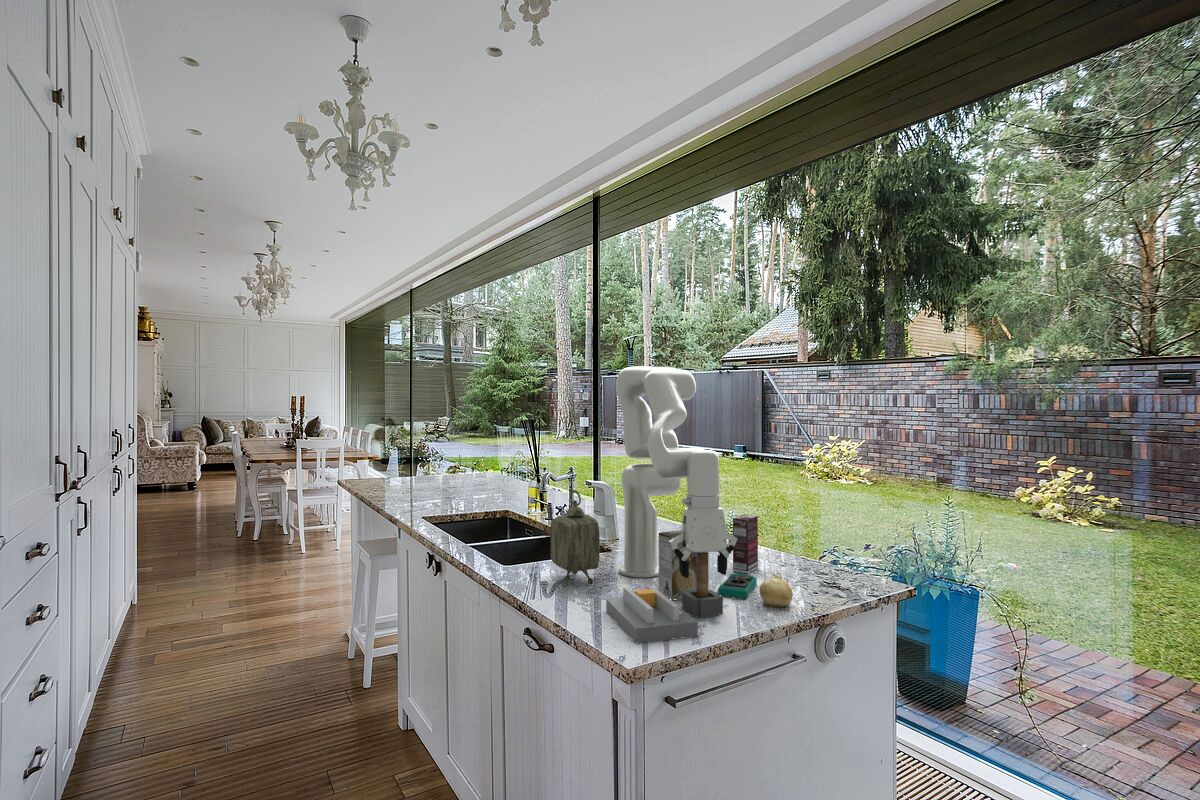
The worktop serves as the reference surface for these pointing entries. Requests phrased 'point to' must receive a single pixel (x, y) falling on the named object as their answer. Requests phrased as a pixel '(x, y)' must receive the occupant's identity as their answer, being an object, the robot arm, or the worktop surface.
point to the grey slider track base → (650, 617)
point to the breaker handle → (646, 596)
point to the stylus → (702, 575)
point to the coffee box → (674, 568)
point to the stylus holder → (702, 604)
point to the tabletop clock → (575, 541)
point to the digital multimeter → (737, 586)
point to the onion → (776, 592)
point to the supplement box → (745, 543)
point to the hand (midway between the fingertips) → (703, 574)
